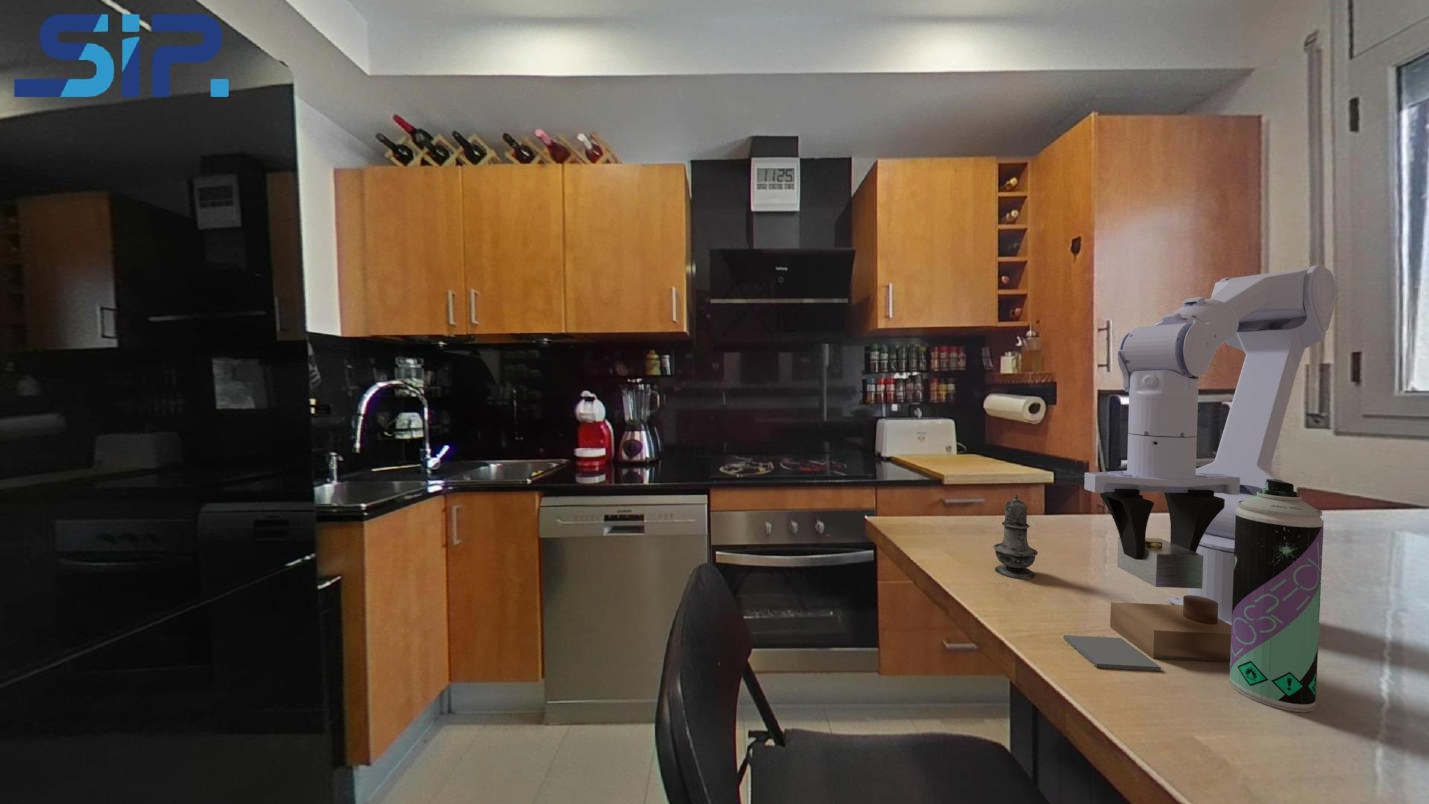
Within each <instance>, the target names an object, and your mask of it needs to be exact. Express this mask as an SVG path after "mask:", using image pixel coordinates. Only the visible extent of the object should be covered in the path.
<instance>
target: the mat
mask: <svg viewBox="0 0 1429 804" xmlns="http://www.w3.org/2000/svg"><path fill="white" fill-rule="evenodd" d="M1063 639H1064V640H1065V641H1066V642H1067V643H1068V644H1069V645H1070V644H1071V645H1072V646H1071V645H1070V646H1071V647H1073V648H1074V649H1075V648H1076V649H1075V650H1076V651H1077V650H1078V651H1077V652H1078V653H1079V652H1080V653H1079V654H1081V656H1083V657H1084V659H1086V658H1087V659H1088V660H1089V661H1088V660H1087V659H1086V660H1087V661H1088V662H1090V663H1091V662H1092V663H1091V664H1092V665H1093V664H1094V665H1095V666H1094V665H1093V666H1094V667H1095V668H1096V667H1098V669H1118V670H1119V669H1120V670H1133V671H1134V670H1135V671H1141V670H1142V671H1154V672H1158V671H1159V672H1161V671H1162V669H1161V668H1162V667H1161V666H1160V665H1158V664H1157V663H1156V662H1155V661H1154V660H1152V659H1151V658H1149V657H1148V656H1147V655H1145V654H1143V653H1142V652H1141V651H1139V650H1138V649H1137V648H1135V647H1134V646H1132V645H1131V644H1130V642H1127V641H1126V640H1125V639H1124V638H1122V637H1111V636H1108V637H1106V636H1091V635H1090V636H1089V635H1069V634H1068V635H1067V634H1063Z"/></svg>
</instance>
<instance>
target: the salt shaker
mask: <svg viewBox="0 0 1429 804" xmlns="http://www.w3.org/2000/svg"><path fill="white" fill-rule="evenodd" d="M1019 497H1020V496H1018V494H1016V493H1015V494H1014V496H1013V499H1012V500H1008V501H1006V503H1005V505H1004V521H1002V522H1001V524H1002V525H1003V529H1004V530H1003V539H1002V542H1000V543H995V544H994V545H993V546H992V548H993V549H994V550H995V551H994V552H995V556H996V558H997V560H998V561H999V562H1000V563H1001V564H1000V565H997V566H996V567H995V568H994V571H995V572H996V573H997V574H999V575H1002V576H1004V577H1007V578H1012V579H1018V580H1029V579H1034V578H1035V577H1036V574H1035V572H1033V571H1032V570H1031V569H1029V567H1031V566H1032V565H1033V563H1034V562H1035V561H1036V556H1037V555H1038V553H1039V552H1038V550H1037V549H1036V548H1033V547H1030V546H1029V543H1028V528H1029V529H1030V524H1028V520H1027V518H1028V517H1027V516H1028V507H1027V504H1026V503H1025V502H1023V501H1021V500H1020V499H1019Z"/></svg>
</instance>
